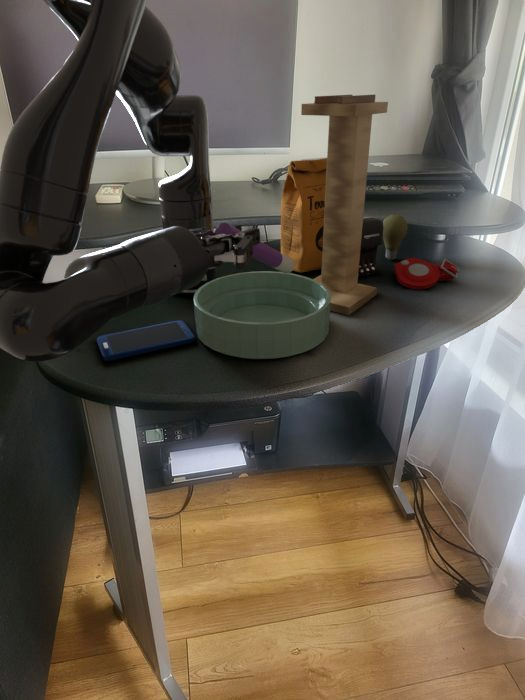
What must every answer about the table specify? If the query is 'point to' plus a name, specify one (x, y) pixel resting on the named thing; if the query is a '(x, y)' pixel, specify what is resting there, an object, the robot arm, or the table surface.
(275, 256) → the glue stick
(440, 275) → the tracker holder
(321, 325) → the bowl
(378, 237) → the battery charger
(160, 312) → the table surface
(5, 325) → the robot arm
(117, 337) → the cell phone
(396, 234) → the light bulb
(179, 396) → the table surface
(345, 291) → the stand
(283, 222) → the coffee package
